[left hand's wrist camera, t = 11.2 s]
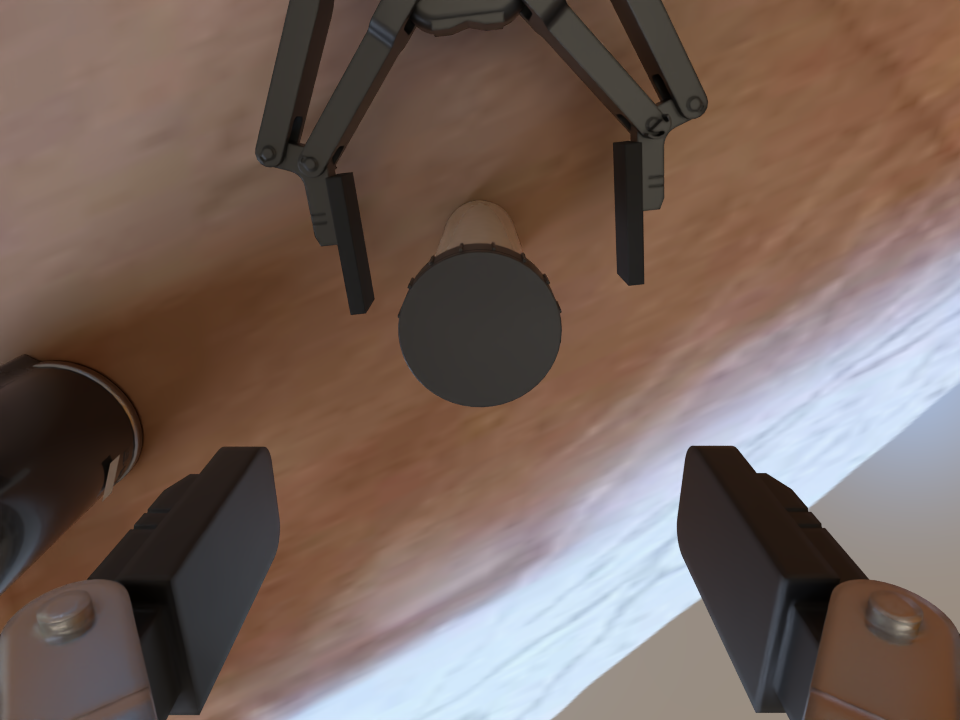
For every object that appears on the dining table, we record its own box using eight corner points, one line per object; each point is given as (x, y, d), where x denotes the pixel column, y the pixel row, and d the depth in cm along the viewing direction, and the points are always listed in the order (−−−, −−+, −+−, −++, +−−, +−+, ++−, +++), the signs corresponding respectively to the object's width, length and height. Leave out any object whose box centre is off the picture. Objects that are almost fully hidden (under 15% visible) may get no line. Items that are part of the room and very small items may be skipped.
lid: (558, 238, 20) (564, 247, 19) (556, 387, 22) (561, 406, 21) (396, 244, 20) (390, 253, 19) (408, 391, 22) (403, 410, 21)
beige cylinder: (515, 198, 36) (545, 261, 20) (516, 271, 38) (545, 387, 21) (442, 201, 36) (409, 266, 20) (446, 273, 38) (419, 390, 21)
